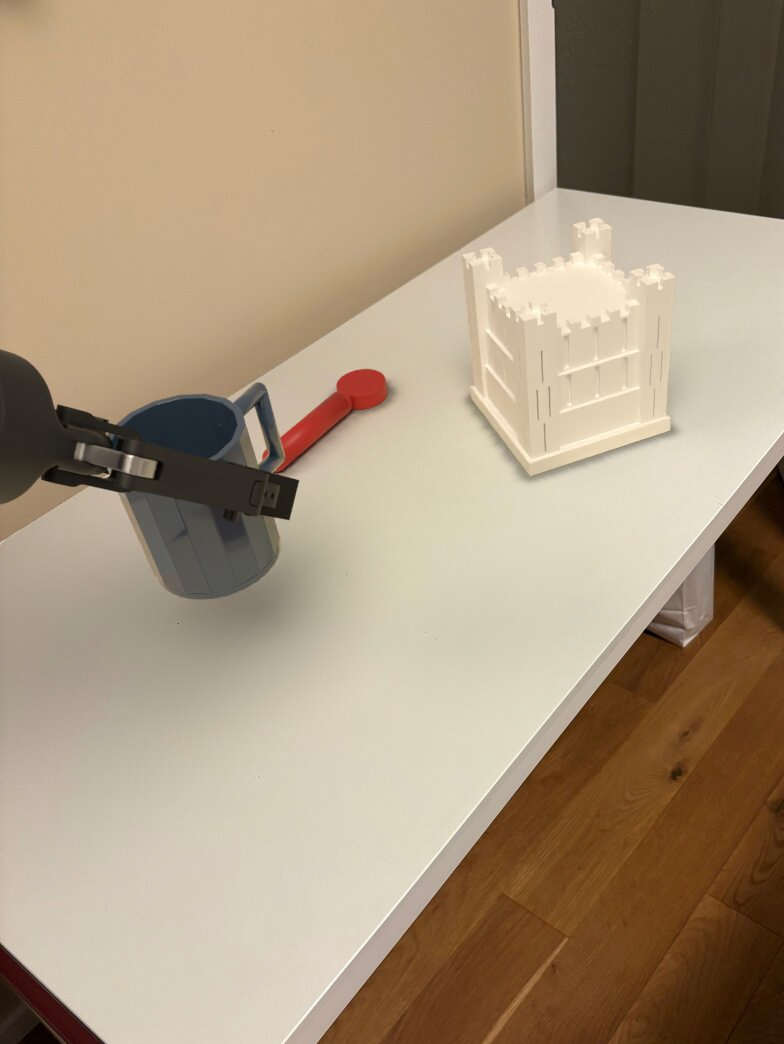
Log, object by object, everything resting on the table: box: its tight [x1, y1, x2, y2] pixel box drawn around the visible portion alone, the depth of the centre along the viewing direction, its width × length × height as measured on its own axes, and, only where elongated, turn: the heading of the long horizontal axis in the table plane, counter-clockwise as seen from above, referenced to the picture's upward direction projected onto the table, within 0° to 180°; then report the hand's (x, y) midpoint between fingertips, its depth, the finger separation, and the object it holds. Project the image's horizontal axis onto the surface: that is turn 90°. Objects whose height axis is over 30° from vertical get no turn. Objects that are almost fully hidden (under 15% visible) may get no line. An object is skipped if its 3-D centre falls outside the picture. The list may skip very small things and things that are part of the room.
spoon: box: [261, 368, 388, 473], centre depth 93 cm, size 17×5×2 cm, turn 147°
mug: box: [106, 381, 285, 601], centre depth 62 cm, size 13×9×10 cm, turn 153°
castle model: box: [461, 217, 676, 477], centre depth 86 cm, size 14×14×15 cm
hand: (232, 483), depth 64 cm, fingers closed on mug, 9 cm apart
